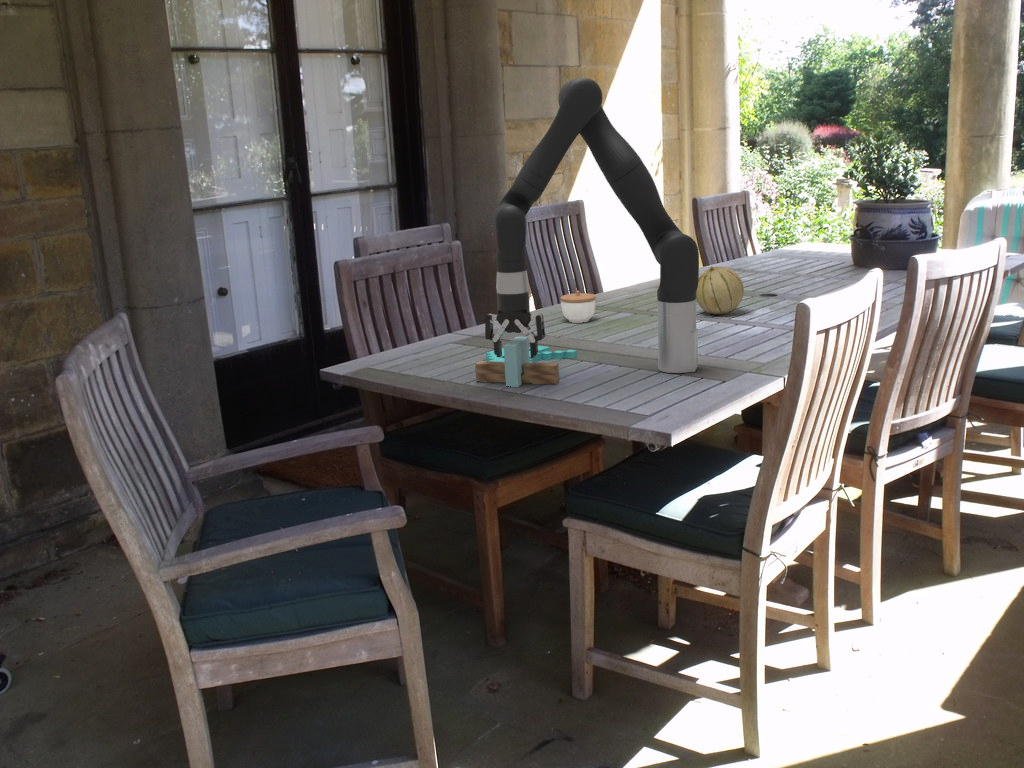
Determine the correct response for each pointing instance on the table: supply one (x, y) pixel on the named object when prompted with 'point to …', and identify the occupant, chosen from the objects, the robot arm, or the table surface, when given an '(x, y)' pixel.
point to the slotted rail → (531, 374)
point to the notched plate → (515, 360)
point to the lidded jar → (578, 306)
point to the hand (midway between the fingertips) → (516, 356)
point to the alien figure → (542, 355)
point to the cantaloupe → (719, 290)
